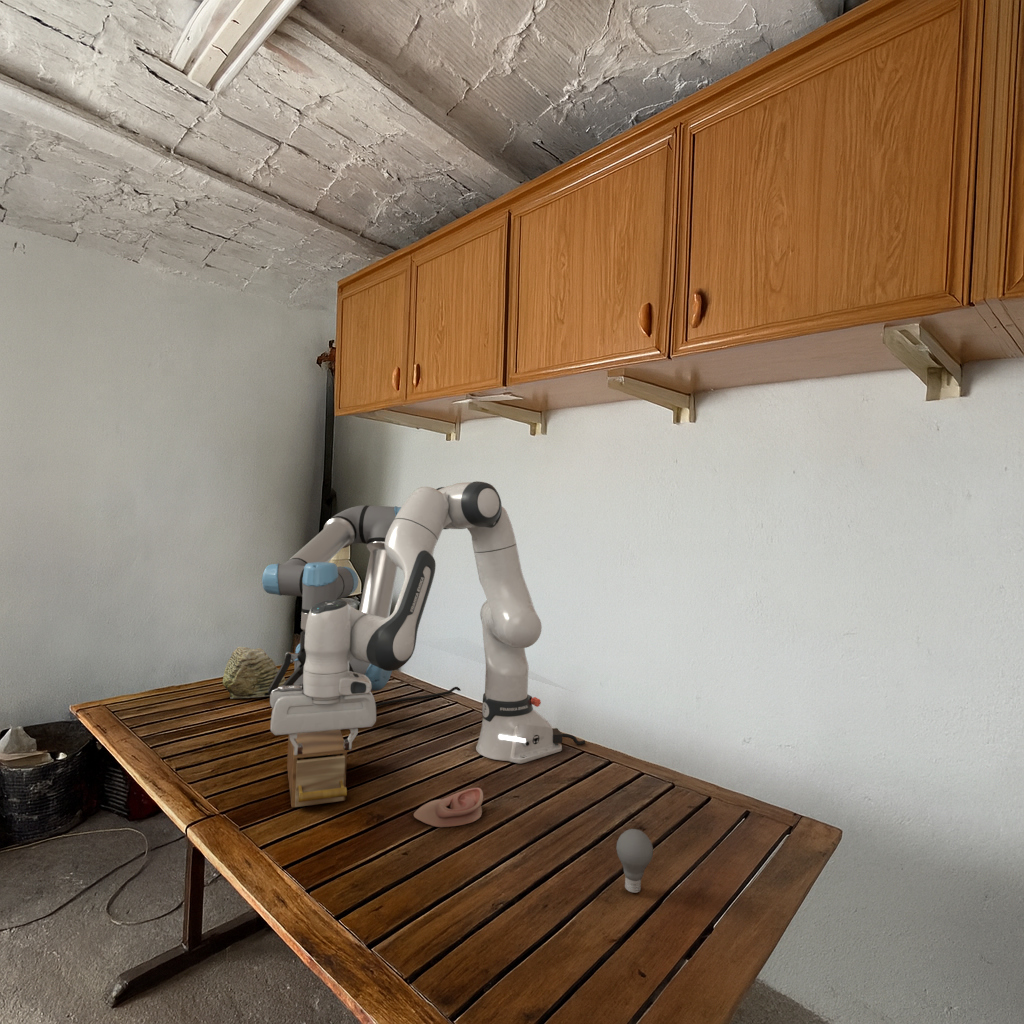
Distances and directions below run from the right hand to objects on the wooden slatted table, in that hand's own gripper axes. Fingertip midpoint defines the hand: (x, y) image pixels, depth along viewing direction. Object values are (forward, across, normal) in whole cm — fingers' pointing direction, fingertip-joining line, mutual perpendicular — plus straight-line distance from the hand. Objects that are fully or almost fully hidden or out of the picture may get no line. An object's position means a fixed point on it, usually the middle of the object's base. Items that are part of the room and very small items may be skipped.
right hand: (323, 751), depth 126 cm
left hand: (+1, 0, +20) cm, 20 cm away
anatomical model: (+12, +24, -8) cm, 29 cm away
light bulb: (+12, +46, -42) cm, 63 cm away
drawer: (+12, 0, +9) cm, 15 cm away
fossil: (+13, -12, +82) cm, 84 cm away
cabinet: (+13, 0, +14) cm, 19 cm away
